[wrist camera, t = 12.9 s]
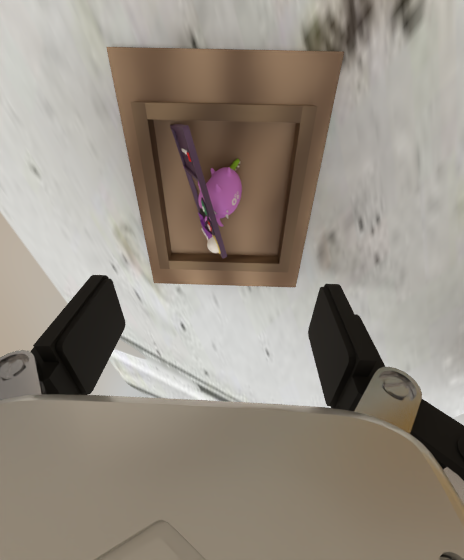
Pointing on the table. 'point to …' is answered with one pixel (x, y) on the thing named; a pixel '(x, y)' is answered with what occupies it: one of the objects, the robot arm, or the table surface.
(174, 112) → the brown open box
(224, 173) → the purple figure with panel
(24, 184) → the table surface
